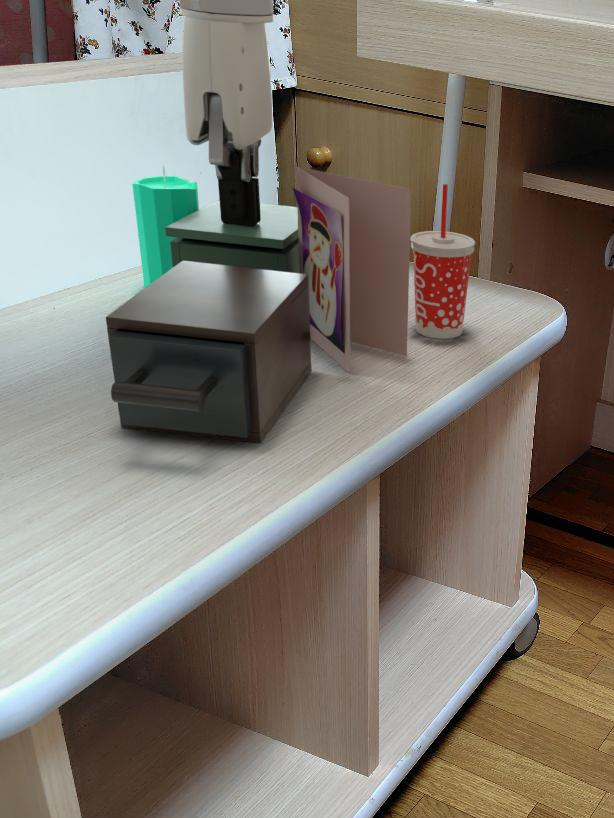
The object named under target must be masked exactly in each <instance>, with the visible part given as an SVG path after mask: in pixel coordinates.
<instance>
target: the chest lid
mask: <svg viewBox="0 0 614 818" xmlns="http://www.w3.org/2000/svg"><path fill="white" fill-rule="evenodd" d="M260 215H261V220H260V222H258V223H257V224H256V225H255V226H253V227H251V226H242V225H233V224H224V223H223V222H222V221H221V213H220V200H219V199H218V200H216V201H214V202H212V203H209V204H208V205H206V206H204V207H202V208H199V210H198V211H196V212H194V213H192V214H190V215H188V216H186V217H184V218H182V219H180V220H178V221H176V222H174V223H172V224H170V225H168V226H166V227H165V233H166V236H169V237H178V238H187V239H197V240H206V241H215V242H224V243H233V244H242V245H251V246H260V247H269V248H278V249H284V248H285V247H287V246H288V245H289V244H291V243H292V242H293V241H295V240H296V239H297V238H298V210H297V206H291V205H290V206H289V205H280V204H272V203H262V202H260Z"/></svg>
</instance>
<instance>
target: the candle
mask: <svg viewBox="0 0 614 818" xmlns="http://www.w3.org/2000/svg"><path fill="white" fill-rule="evenodd" d="M165 171H166V170H165V165H162V174H163V175H156V176H147V177H146V176H145V177H143V178H140V179H138V180H135V181H134V182H132V184H131V185H132V193H133V202H134V210H135V219H136V227H137V234H138V235H137V236H138V244H139V251H140V261H141V268H142V276H143V285H144V289H145V288H146V287H147V286H149V285H150V284H151V283H153V282H154V281H156V280H157V279H158V278H160V277H161V276H162V275H164V274H165V273H166V272H168V271H169V270H170V269H172V268H173V265H172V256H171V246H170V242H171V241H172V240H174V239H175V238H177V237H169V236H166V233H165V227H166V226H168V225H170V224H172V223H174V222H176V221H178V220H180V219H182V218H184V217H186V216H188V215H190V214H192V213H194V212H196V211H198V210H200V203H199V202H200V201H199V192H198V191H199V190H198V182H197V181H190V180H187V179H185V178H182V177H181V176H178V175H166V172H165Z"/></svg>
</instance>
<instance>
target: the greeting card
mask: <svg viewBox="0 0 614 818" xmlns="http://www.w3.org/2000/svg"><path fill="white" fill-rule="evenodd" d="M295 173H296V174H295V177H296V179H295V180H296V188H295V187H293V186H291V188H292V191H293V194H294V196H295V199H296V204H297V205H296V207H297V210H298V239H299V268H300V274H308V279H309V283H308V285H309V312H310V340H312V341H313V342H314V343H315V344H316V345H317V346H318V347H320V349H322V350H324V352H325V353H326V354H327V355H329V356H330V357H331V358H332V359H333V360H334V361H335V362H337V364H339V365H340V366H341V367H342V368H343V369H344V370H346V372H348V373H349V374H351V343H353V344H356V345H360V346H364V347H368V348H372V349H375V350H376V349H377V350H380V351H384V352H389V353H393V354H397V355H400V356H405V357H408V329H409V293H410V291H409V290H410V289H409V288H410V284H409V283H410V252H411V251H410V250H411V249H410V247H411V241H410V237H411V212H412V211H411V209H412V208H411V207H412V204H411V203H412V188H408V187H403V186H399V185H398V186H397V185H392V184H388V183H383V182H377V181H373V180H366V179H363V178H356V177H351V176H348V175H347V176H346V175H342V174H336V173H331V172H327V171H326V172H325V171H321V170H315V169H311V168H306V167H301V166H295Z"/></svg>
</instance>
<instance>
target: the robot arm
mask: <svg viewBox="0 0 614 818" xmlns="http://www.w3.org/2000/svg"><path fill="white" fill-rule="evenodd" d="M178 5H179V14H180V15H181V16H183V29H182V30H183V33H182V83H183V85H182V87H183V102H184V103H183V108H184V125H185V127H184V128H185V136H186V140H187V141H188V142H189V143H190V144H191V145H193V146H200V145H202V144H205V143H207V142H208V163H209V165H212V166H214V168H215V175H216V179H217V184H218V185H217V186H218V187H217V188H218V198H219V199H218V200H220V213H221V221H222V222H223V223H224V224H233V225H242V226H251V227H253V226H255V225H256V224H257V223H258V222H260V220H261V215H260V203H261V200H260V182H259V181H260V180H259V178H258V177H259V174H260V172H259V171H260V162H259V161H260V158H259V157H260V155H259V154H260V153H259V152H260V151H259V149H260V146H261V145H262V139H263V138H265V137H267V135H269V134H270V133H271V131H272V128H273V112H274V111H273V89H272V75H271V65H270V64H271V63H270V53H269V52H270V51H269V43H268V42H269V41H268V34H267V27H266V24H269V23H274V22H275V13H274V0H179V1H178Z"/></svg>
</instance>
